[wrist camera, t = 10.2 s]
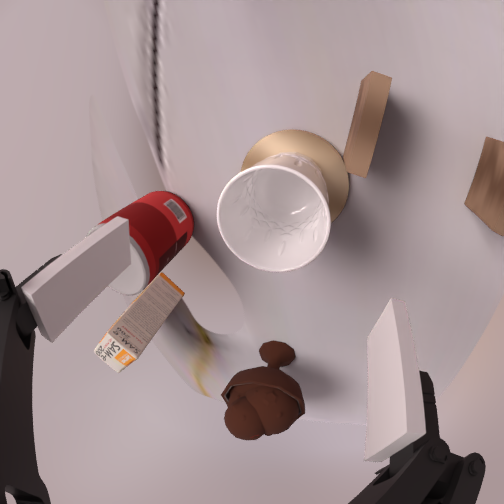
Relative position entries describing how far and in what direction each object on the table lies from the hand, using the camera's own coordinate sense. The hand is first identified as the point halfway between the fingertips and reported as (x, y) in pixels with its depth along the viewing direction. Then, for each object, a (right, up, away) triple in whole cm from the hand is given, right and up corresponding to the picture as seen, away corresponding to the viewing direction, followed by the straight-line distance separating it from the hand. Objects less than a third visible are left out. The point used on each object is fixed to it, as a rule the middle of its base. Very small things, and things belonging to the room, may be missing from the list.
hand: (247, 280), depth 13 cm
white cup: (+4, +8, +15) cm, 17 cm away
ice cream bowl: (+4, -14, +28) cm, 31 cm away
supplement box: (-13, -5, +28) cm, 32 cm away
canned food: (-10, +6, +21) cm, 24 cm away
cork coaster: (+4, +8, +15) cm, 18 cm away
